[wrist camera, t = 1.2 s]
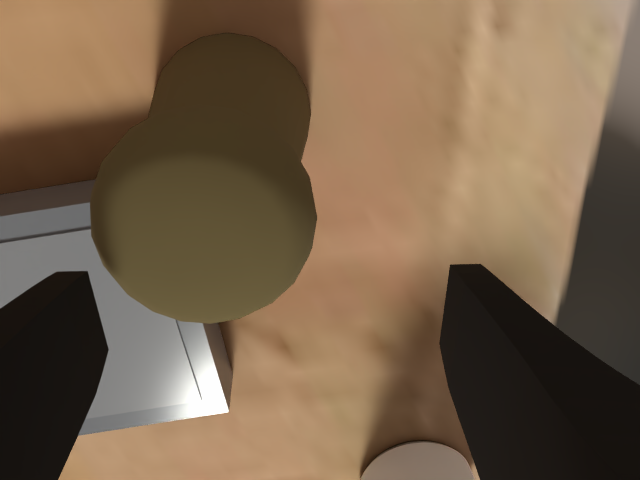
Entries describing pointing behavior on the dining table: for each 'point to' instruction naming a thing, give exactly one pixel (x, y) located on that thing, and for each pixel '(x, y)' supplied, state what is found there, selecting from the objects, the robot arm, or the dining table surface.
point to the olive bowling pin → (210, 185)
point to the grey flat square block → (113, 317)
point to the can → (419, 463)
